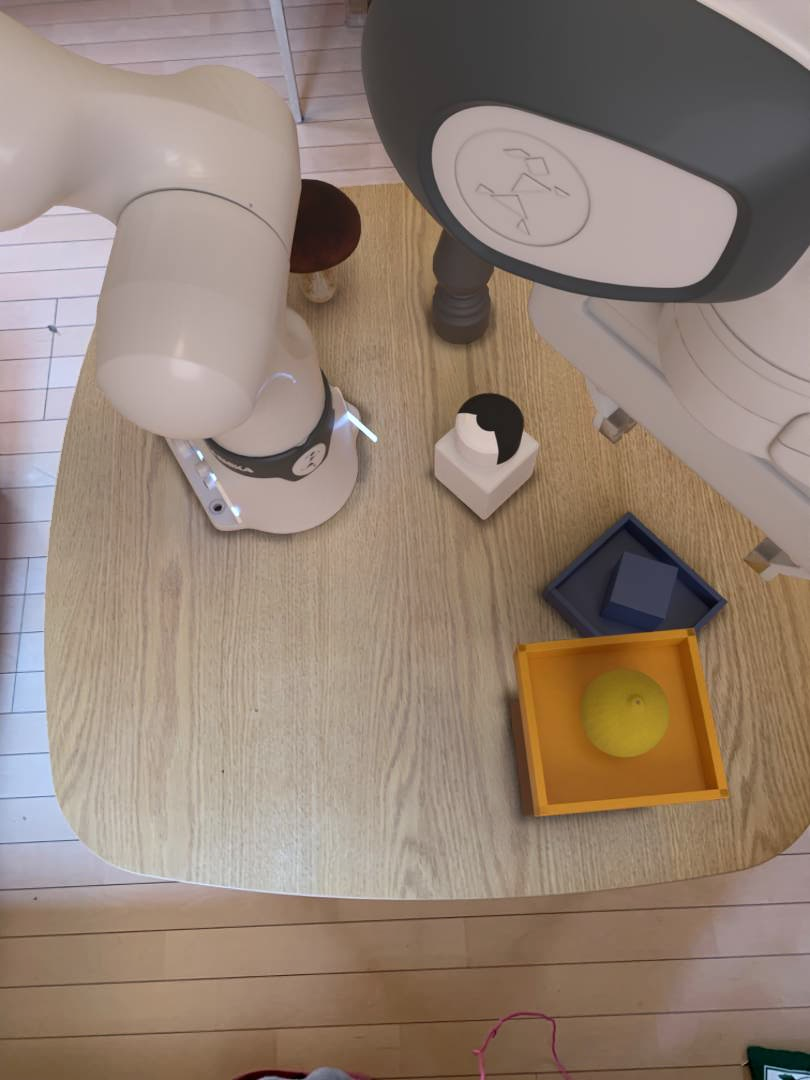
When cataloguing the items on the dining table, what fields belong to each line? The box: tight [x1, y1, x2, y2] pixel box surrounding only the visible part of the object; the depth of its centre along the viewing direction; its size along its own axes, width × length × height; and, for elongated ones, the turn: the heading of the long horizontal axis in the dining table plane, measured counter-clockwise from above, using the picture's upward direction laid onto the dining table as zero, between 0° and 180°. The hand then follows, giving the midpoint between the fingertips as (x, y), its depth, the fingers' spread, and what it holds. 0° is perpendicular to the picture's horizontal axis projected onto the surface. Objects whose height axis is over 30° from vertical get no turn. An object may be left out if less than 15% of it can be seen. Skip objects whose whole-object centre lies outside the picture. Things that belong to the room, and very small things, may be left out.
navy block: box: [600, 551, 678, 632], centre depth 78 cm, size 5×5×5 cm
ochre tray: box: [508, 628, 730, 818], centre depth 66 cm, size 12×11×21 cm
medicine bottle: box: [433, 392, 540, 521], centre depth 80 cm, size 7×7×12 cm
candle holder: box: [431, 228, 495, 345], centre depth 80 cm, size 6×6×25 cm
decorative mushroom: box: [289, 178, 362, 304], centre depth 87 cm, size 11×11×15 cm
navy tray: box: [541, 510, 729, 638], centre depth 79 cm, size 12×11×3 cm
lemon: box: [580, 669, 670, 757], centre depth 55 cm, size 6×6×8 cm
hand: (686, 491), depth 40 cm, fingers open, 8 cm apart
